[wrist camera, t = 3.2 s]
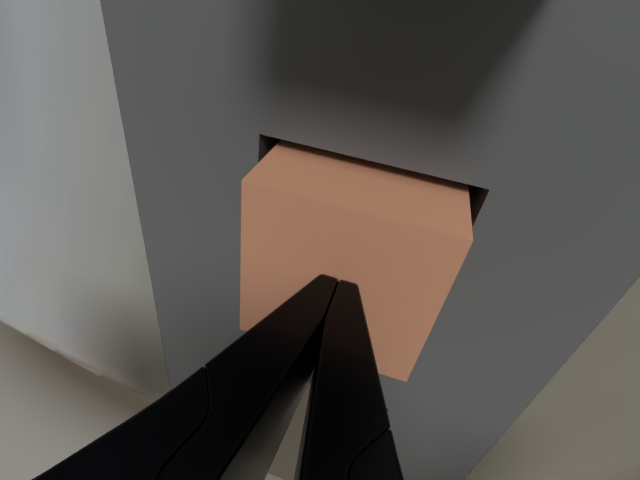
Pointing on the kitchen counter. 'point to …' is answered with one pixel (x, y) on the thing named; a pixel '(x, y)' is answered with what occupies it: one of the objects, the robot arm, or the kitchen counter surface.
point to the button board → (407, 153)
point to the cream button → (289, 445)
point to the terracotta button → (353, 241)
